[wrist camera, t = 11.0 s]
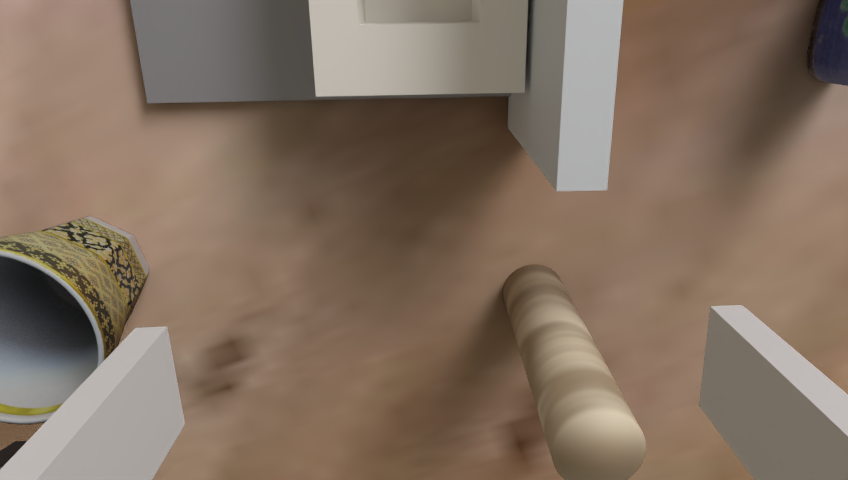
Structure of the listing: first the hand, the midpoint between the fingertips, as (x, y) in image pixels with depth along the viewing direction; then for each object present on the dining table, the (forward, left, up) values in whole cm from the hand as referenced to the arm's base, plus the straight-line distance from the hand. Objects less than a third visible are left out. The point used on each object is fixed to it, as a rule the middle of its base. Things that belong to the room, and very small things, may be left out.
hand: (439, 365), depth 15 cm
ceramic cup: (-7, +23, -25) cm, 35 cm away
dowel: (-10, -7, -25) cm, 27 cm away
